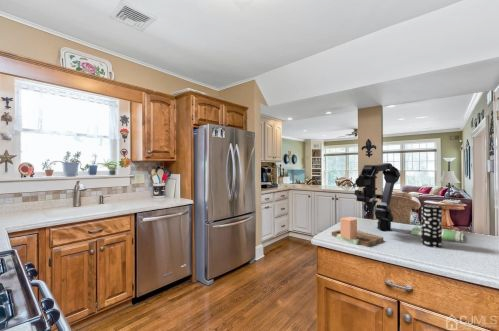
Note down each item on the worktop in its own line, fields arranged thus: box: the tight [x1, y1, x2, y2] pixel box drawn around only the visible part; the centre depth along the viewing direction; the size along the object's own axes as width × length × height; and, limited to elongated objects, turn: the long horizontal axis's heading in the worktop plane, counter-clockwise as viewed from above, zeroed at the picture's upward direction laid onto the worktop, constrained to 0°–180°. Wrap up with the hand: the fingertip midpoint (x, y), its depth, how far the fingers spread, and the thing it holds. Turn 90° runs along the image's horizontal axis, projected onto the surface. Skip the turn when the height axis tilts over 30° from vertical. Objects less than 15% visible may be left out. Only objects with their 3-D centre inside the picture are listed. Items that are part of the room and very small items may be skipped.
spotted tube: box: [420, 204, 443, 249], centre depth 122 cm, size 8×8×20 cm
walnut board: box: [331, 229, 384, 248], centre depth 133 cm, size 15×22×2 cm
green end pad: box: [336, 234, 359, 245], centre depth 129 cm, size 3×12×2 cm, turn 32°
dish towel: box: [409, 225, 465, 243], centre depth 138 cm, size 18×23×3 cm
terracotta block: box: [339, 216, 358, 239], centre depth 129 cm, size 6×6×10 cm
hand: (370, 212), depth 140 cm, fingers closed
